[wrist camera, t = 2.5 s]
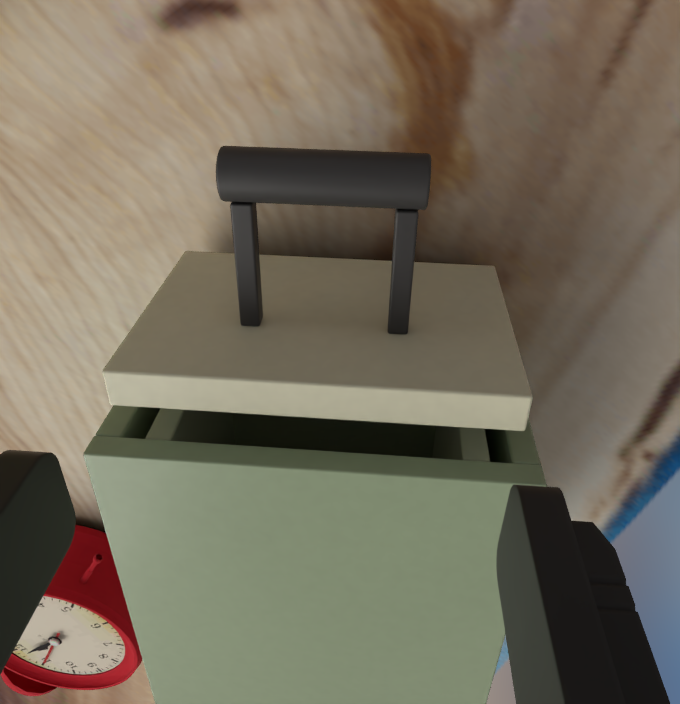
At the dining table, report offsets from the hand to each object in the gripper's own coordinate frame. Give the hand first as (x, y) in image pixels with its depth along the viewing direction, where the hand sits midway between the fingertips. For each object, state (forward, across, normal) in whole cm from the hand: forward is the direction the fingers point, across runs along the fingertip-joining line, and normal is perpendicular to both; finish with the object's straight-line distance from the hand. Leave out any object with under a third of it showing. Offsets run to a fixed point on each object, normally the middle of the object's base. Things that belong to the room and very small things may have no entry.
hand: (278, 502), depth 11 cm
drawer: (+13, 0, +6) cm, 14 cm away
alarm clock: (+14, +16, +24) cm, 32 cm away
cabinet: (+14, 0, +11) cm, 18 cm away
